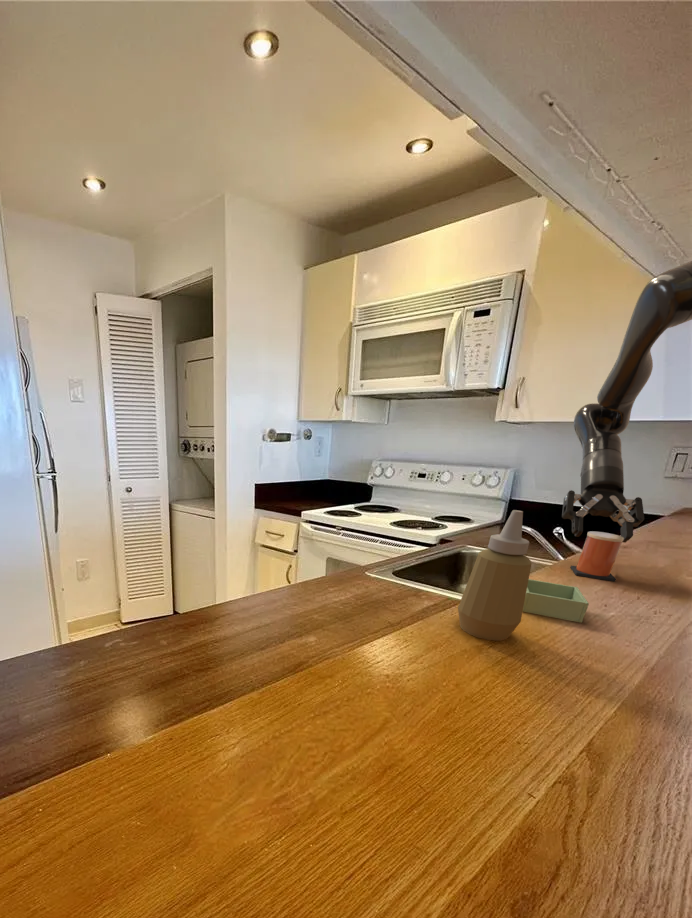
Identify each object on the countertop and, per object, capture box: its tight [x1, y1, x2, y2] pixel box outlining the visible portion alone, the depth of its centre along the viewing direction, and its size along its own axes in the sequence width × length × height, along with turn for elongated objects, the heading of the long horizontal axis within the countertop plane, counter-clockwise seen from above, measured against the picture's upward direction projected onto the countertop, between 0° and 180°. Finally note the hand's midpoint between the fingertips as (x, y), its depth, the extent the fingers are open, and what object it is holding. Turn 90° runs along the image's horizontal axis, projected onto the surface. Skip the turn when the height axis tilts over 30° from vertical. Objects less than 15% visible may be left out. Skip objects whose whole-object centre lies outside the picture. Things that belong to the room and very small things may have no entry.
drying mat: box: [570, 565, 617, 582], centre depth 101 cm, size 7×6×1 cm
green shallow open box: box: [522, 578, 590, 623], centre depth 77 cm, size 8×8×4 cm
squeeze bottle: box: [457, 509, 532, 642], centre depth 64 cm, size 8×8×18 cm
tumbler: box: [576, 530, 624, 576], centre depth 99 cm, size 6×6×8 cm
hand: (602, 537), depth 99 cm, fingers open, 8 cm apart
